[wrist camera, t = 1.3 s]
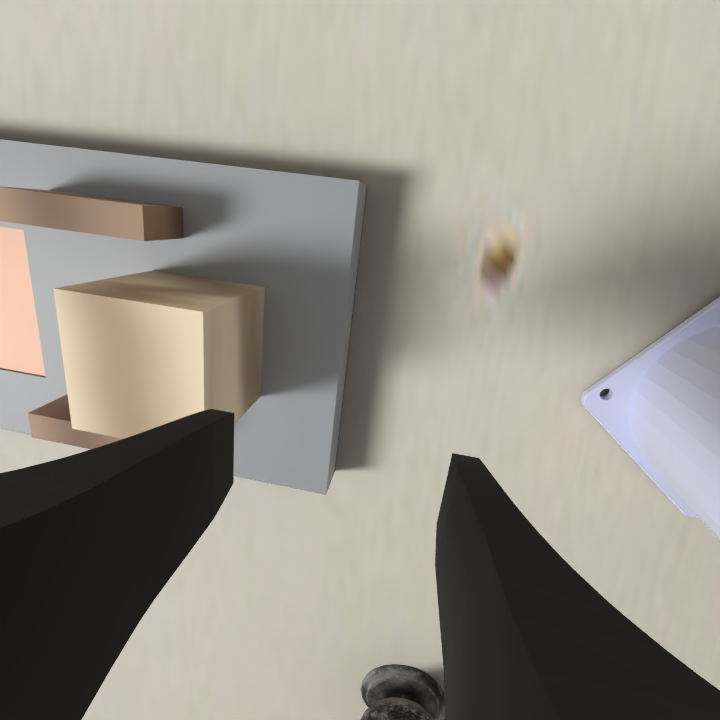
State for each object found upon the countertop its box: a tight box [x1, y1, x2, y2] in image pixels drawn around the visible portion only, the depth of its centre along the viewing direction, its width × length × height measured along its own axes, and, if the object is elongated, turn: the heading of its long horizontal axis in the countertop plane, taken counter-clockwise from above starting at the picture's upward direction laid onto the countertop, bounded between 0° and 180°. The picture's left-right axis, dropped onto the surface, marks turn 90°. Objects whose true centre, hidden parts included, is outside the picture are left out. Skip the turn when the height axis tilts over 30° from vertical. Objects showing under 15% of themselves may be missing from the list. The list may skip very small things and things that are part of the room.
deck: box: [0, 139, 367, 495], centre depth 20 cm, size 27×14×2 cm, turn 83°
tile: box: [0, 227, 45, 376], centre depth 20 cm, size 6×7×2 cm
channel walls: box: [0, 186, 184, 449], centre depth 18 cm, size 6×10×2 cm, turn 173°
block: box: [53, 270, 265, 439], centre depth 16 cm, size 5×5×5 cm
